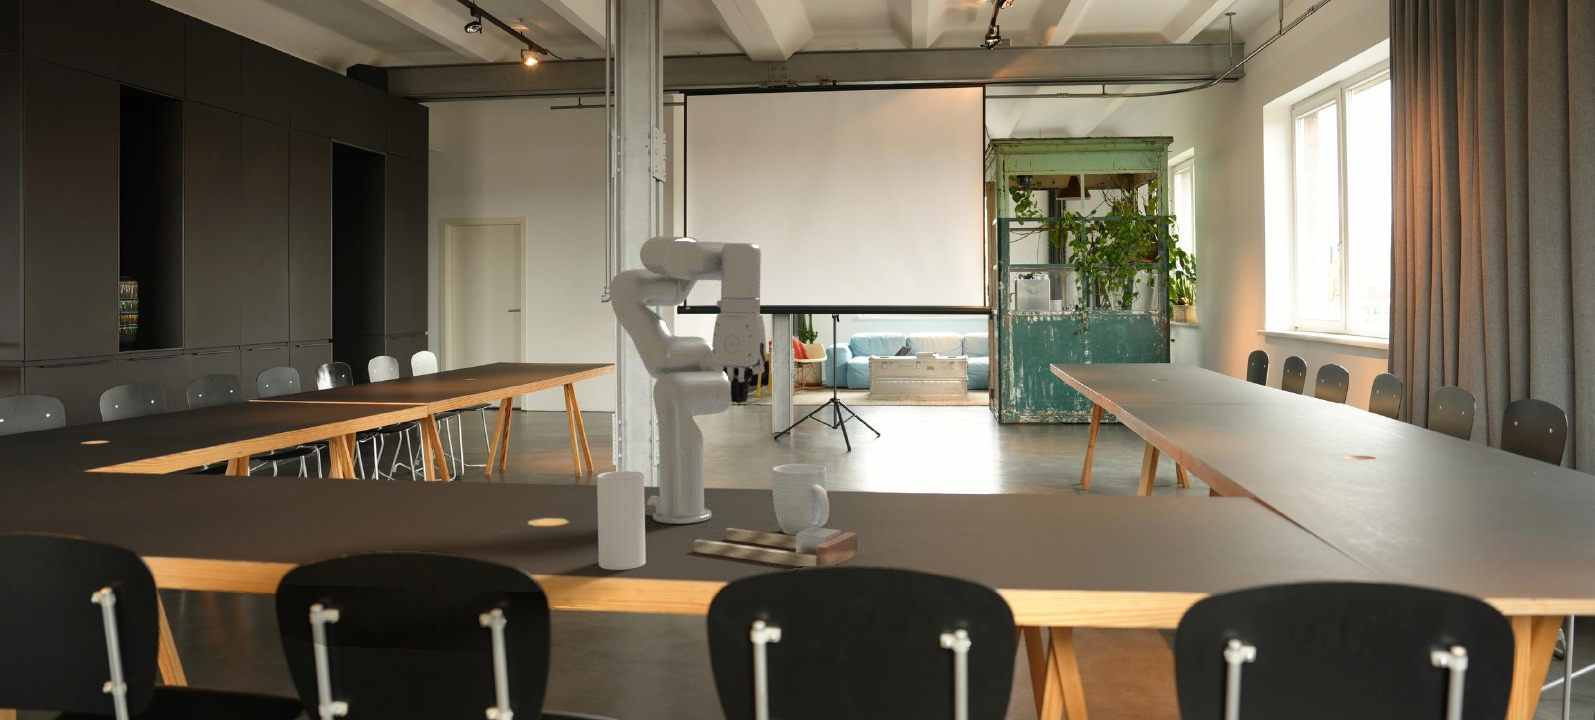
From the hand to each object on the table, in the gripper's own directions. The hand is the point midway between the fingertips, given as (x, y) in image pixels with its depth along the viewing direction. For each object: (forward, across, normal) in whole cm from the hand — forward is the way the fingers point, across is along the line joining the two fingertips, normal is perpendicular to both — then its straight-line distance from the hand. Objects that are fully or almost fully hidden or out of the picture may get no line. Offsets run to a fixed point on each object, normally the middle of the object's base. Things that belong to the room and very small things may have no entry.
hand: (739, 401), depth 187 cm
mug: (+27, +9, +10) cm, 30 cm away
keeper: (+26, +22, -6) cm, 35 cm away
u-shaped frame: (+27, +13, -6) cm, 30 cm away
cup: (+27, -8, -25) cm, 38 cm away
